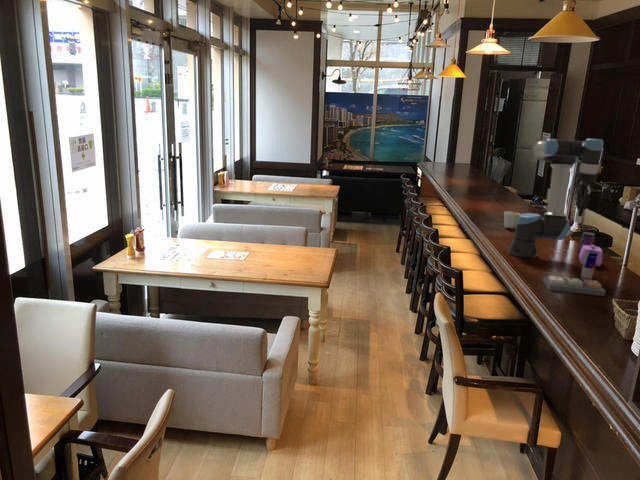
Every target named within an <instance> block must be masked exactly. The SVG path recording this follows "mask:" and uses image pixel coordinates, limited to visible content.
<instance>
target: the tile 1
mask: <svg viewBox="0 0 640 480" xmlns="http://www.w3.org/2000/svg"><path fill="white" fill-rule="evenodd" d="M547 277H548V281H549V282H550V283H553V284H562V285H564V282H565V281H564V280H563V279H564V278H563V277H562V276H553V275H548V276H547Z"/></svg>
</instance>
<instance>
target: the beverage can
mask: <svg viewBox="0 0 640 480" xmlns="http://www.w3.org/2000/svg"><path fill="white" fill-rule="evenodd" d="M595 235H596V233H593V232H590V231H589V232H588V231H584V232H582V234H581V236H580V241H579V245H578V250H577V251H578V252H579V253H580V252H581V249H582V247H583V245H588V246H590V245H594V244H595V240H596V236H595Z"/></svg>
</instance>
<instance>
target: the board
mask: <svg viewBox="0 0 640 480" xmlns="http://www.w3.org/2000/svg"><path fill="white" fill-rule="evenodd" d="M548 277H549V276H543V279H542V282H543V283H544V285H545V286H546V287H547V289H548V291H554V292H555V291H556V292H565V293H573V294H583V295H584V294H585V295H591V296H592V295H593V296H601V297H605V296H606V292H607V291H606V290H605V288H603V287H602V286H601V288H600V289H599V288H590V287H586V286H585V285H584V284H583V285H582V287H580V286H571V285H568V284H567V283H566V278H562V279H563V280H564V281H565V282H564V285H562V284H553V283H550V282H549V281H548ZM579 280H580V281H581V282H582V283H584V280H581V279H579Z"/></svg>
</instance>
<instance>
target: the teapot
mask: <svg viewBox="0 0 640 480" xmlns="http://www.w3.org/2000/svg"><path fill="white" fill-rule="evenodd" d="M586 250H594V251H597V252H598V255H597V259H596V264H595V267H597V266H599V267H601V265H602V262H603V250H602V248H601V247H600V246H596V245H590V246H588V245H583V247H582V249H581V252H579V256H578V259H579V262H580V264H581V265H583V264H584V259H585V255H586Z"/></svg>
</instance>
